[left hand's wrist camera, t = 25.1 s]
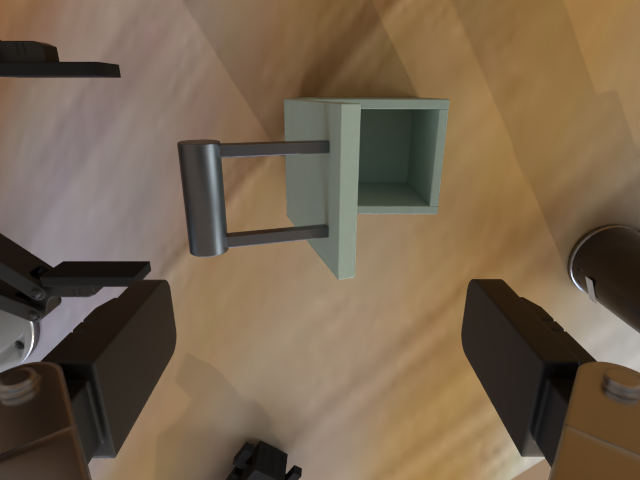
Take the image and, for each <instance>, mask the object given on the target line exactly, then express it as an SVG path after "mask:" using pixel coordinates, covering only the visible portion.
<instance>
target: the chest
mask: <svg viewBox="0 0 640 480" xmlns="http://www.w3.org/2000/svg"><path fill="white" fill-rule="evenodd" d="M293 99H304V100H318V101H332V102H346V103H360V104H361V115H360V144H359V172H358V201H357V214H437V212H438V202H439V192H440V183H441V174H442V164H443V155H444V145H445V136H446V126H447V117H448V108H449V99H436V98H419V97H297V98H293Z"/></svg>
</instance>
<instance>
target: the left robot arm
mask: <svg viewBox="0 0 640 480" xmlns="http://www.w3.org/2000/svg"><path fill="white" fill-rule="evenodd" d="M568 273H569V276H570V279H571V280H572V282H573V283H574V284H575V285H576V286H577V287H578V288H579V289H581V290H582V291H584V292H585V293H587V294H589V298H590V299H591V300H592V301H594V302H595V303H596V301H598V302H599V303H600V304H602V305H603V306H604V307H605V308H607V309H608V310H609V311H611V312H612V313H613V314H615V315H616V316H617V317H619V318H620V319H621V320H623V321H624V322H625V323H627V324H628V325H629V326H631V327H632V328H633V329H635V330H636V331H637V332H639V333H640V231H636V230H634V229H632V228H630V227H627V226H624V225H615V224H614V225H606V226H602V227H599V228H597V229H595V230H593V231H591V232H589V233H588V234H586V235H585V236H584V237H583V238H582V239H581V240H580V241H579V242H578V243H577V244H576V245H575V247H574V248H573V250H572V252H571V254H570V257H569V261H568ZM461 337H462V346H463V350H464V353H465V355H466V357H467V359H468V360H469V362H470V364H471V366H472V368H473V369H474V371H475V373H476V375H477V377H478V379H479V380H480V382H481V384H482V386H483V388H484V389H485V391H486V393H487V395H488V397H489V398H490V400H491V402H492V404H493V406H494V407H495V409H496V411H497V413H498V415H499V417H500V418H501V420H502V422H503V424H504V426H505V427H506V429H507V431H508V433H509V435H510V436H511V438H512V440H513V442H514V444H515V445H516V447H517V449H518V451H519V453H520V455H521V456H522V457H545V458H546V460H547V461H548V463H549V465H550V466H551V472H550V476H549V479H548V480H640V373H639V372H637V371H635V370H632V369H630V368H627V367H624V366H621V365H617V364H613V363H608V362H597V361H596V360H595V359H594V358H593V357H592V356H591V355H590V354H589V353H588V352H587V351H586V350H585V349H584V348H583V347H582V346H581V345H580V344H579V343H578V342H577V341H576V340H575V339H573V338H572V337H571V336H570V335H569V334H568V333H567V332H564V329H563V328H562V327H561V326H560V325H559V324H558V323H557V322H556V321H554V320H553V318H552V317H551V316H550V315H549V314H548V313H547V312H546V311H545V310H544V309H543V308H542V307H540V306H538V305H536V304H535V303H533V302H531V301H529V300H527V299H525V298H524V297H519V296H518V295H517V294H516V293H515V292H514V291H513V290H512V289H511V288H510V287H509V286H508V285H507V284H506V283H505V282H504V281H503V280H502V279H472V280H471V281H470V282H469V285H468V289H467V296H466V303H465V310H464V317H463V324H462V333H461ZM175 345H176V326H175V319H174V312H173V305H172V298H171V291H170V286H169V284H168V282H167V281H166V280H135V281H134V282H133V283H132V284H131V285H130V286H129V287H128V288H127V289H126V290H125V291H124V292H123V293H122V294H121V295H120V296H119V297H118V298H113V299H111V300H110V301H108V302H106V303H104V304H102V305H100V306H99V307H97V308H95V309H94V310H93V311H92V312H91V313H90V314H89V315H88V316H87V317H86V318H85V319H84V321H83V322H81V323H80V324H79V325H78V326H77V327H76V328H75V329H74V330H73V332H70V333H69V334H68V335H67V336H66V337H65V338H64V339H63V340H62V341H61V342H60V343H59V344H58V345H57V346H56V347H55V348H54V349H53V350H52V351H51V352H50V353H49V354H48V355H47V356H46V357H45V358H43V359H42V360H41V361H40V362H32V363H27V364H23V365H19V366H16V367H13V368H10V369H8V370H5V371H3V372H1V373H0V480H92V479H91V475H90V472H89V468H88V464H89V462H90V460H91V459H92V458H115V457H116V455H117V454H118V452H119V450H120V448H121V447H122V445H123V443H124V441H125V439H126V438H127V436H128V434H129V432H130V430H131V429H132V427H133V425H134V423H135V422H136V420H137V418H138V416H139V414H140V413H141V411H142V409H143V407H144V405H145V404H146V402H147V400H148V398H149V396H150V395H151V393H152V391H153V389H154V388H155V386H156V384H157V382H158V380H159V379H160V377H161V375H162V373H163V371H164V370H165V368H166V366H167V364H168V363H169V361H170V359H171V357H172V355H173V353H174V350H175Z"/></svg>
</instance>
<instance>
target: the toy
mask: <svg viewBox="0 0 640 480" xmlns="http://www.w3.org/2000/svg"><path fill="white" fill-rule="evenodd" d="M287 455H288V454H286V453H284V452H282V451H280V450H278V449H276V448H274V447H272V446H270V445H268V444H266V443H264V442H262V441H260V442H259V444H258V445H257V446H256V447H255V448H254V445H252V444H250V443H248V442H246V443H245V445H244V446H243V447H242V448H241V450H240V451H239V452H238V453H237V455H236V456H235V458H234V462H233V465H235V466H237V467H239V468H241V469H239V468H237V467H235V468H234V470H233V471H232V472H231V474H230V475H229V476H228V478H227V479H226V480H298V479H299V478H300V477H301V473H302V468H300V467H297V466H295V465H294V466H293V467H292V468H291V470H290V471H289V472H288V473H287V474H285V473H286V464H287Z"/></svg>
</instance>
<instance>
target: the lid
mask: <svg viewBox="0 0 640 480" xmlns="http://www.w3.org/2000/svg"><path fill="white" fill-rule="evenodd" d="M360 115H361V104H360V103H346V102H332V101H318V100H304V99H284V124H285V141H278V142H248V143H220V141H217V140H186V141H180V142H178V143H177V145H178V153H179V162H180V171H181V179H182V188H183V196H184V205H185V214H186V222H187V231H188V239H189V248H190V253H191V254H192V255H194V256H198V257H213V256H218V255H221V254H223V253H225V252H227V251H228V248H230V247H240V246H250V245H260V244H269V243H279V242H289V241H298V240H307V242H308V243H309V244H310V245H311V247H312V248H313V249H314V250H315V251H316V253H317V254H318V255H319V256H320V258H321V259H322V260H323V261H324V263H325V264H326V265H327V266H328V268H329V269H330V270H331V271H332V273H333V274H334V275H335V276H336V278H337V279H345V278H353V277H355V258H356V229H357V201H358V172H359V144H360ZM276 155H285V161H286V198H287V217H288V218H289V219H290V220H291V222H292V223H293V224H294V225H295V227H288V228H277V229H267V230H256V231H245V232H234V233H227V224H226V211H225V199H224V187H223V174H222V162H221V158H228V157H252V156H276Z"/></svg>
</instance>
